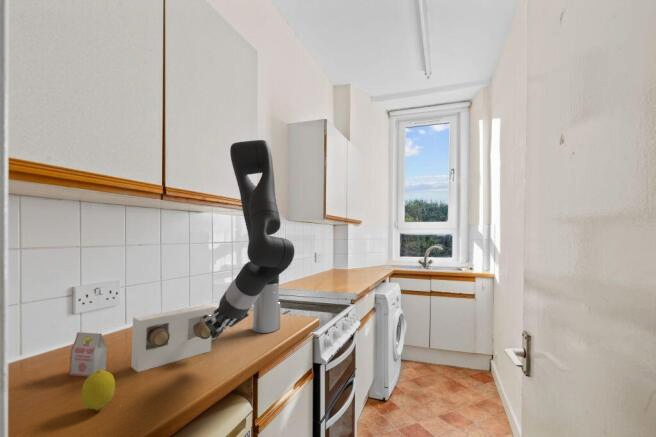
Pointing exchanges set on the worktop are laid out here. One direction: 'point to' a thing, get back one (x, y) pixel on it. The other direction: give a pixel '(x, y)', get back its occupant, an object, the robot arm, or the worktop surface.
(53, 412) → the worktop surface
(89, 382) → the lemon
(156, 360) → the panel
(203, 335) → the knob
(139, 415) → the worktop surface
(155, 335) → the knob
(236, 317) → the robot arm
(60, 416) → the worktop surface
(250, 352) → the worktop surface
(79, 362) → the white milk carton
